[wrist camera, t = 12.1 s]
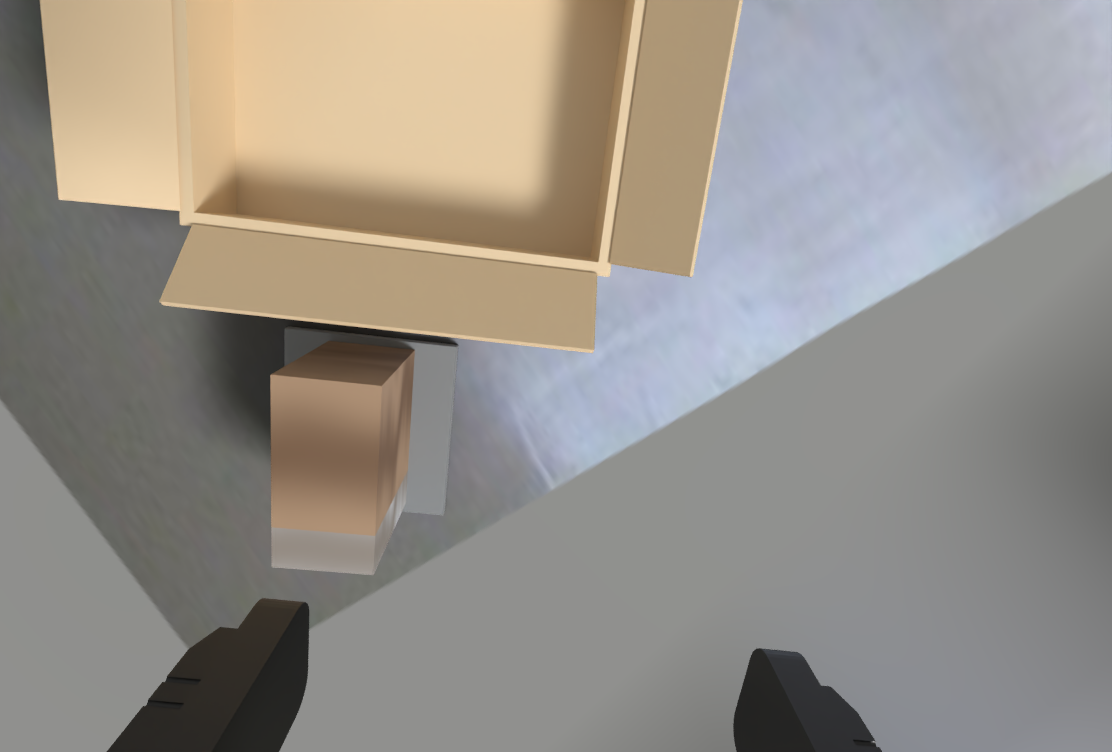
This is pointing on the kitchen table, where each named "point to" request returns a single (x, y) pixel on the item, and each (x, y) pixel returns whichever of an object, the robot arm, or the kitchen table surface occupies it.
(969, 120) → the kitchen table surface
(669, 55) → the carton
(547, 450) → the kitchen table surface
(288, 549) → the tan rectangular block
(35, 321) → the kitchen table surface
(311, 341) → the mat
